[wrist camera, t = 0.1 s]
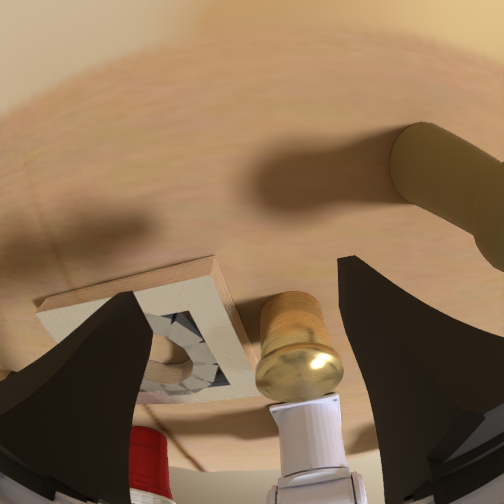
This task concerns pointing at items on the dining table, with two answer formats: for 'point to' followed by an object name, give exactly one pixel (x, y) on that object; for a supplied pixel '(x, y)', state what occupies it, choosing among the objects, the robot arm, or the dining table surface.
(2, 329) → the dining table surface
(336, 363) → the brass knob
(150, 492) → the plastic cup
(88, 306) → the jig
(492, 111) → the dining table surface
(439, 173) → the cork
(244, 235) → the dining table surface
